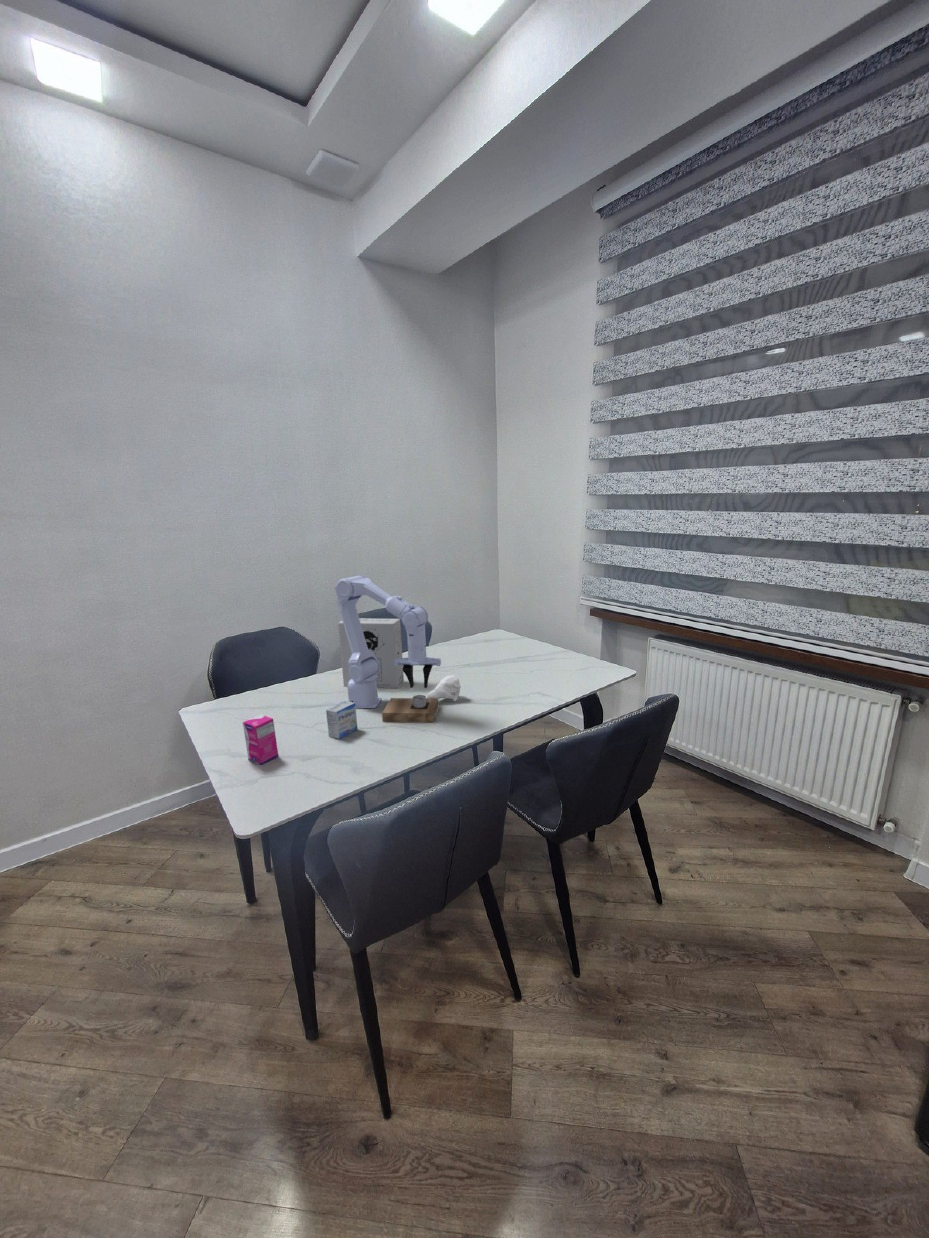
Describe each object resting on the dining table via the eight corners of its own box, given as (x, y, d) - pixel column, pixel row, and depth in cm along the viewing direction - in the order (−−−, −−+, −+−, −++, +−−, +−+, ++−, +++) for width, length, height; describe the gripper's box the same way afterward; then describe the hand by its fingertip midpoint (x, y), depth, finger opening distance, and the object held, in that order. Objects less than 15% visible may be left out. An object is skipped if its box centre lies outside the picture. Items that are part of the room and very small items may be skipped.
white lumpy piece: (461, 676, 168) (429, 686, 162) (464, 699, 170) (433, 710, 165) (452, 671, 173) (421, 681, 168) (455, 693, 175) (425, 703, 170)
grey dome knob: (411, 716, 158) (410, 699, 157) (416, 711, 162) (415, 694, 161) (424, 717, 157) (423, 700, 155) (428, 712, 161) (427, 695, 159)
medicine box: (338, 739, 144) (336, 712, 142) (328, 736, 146) (325, 709, 144) (358, 729, 150) (355, 702, 148) (347, 726, 153) (345, 700, 151)
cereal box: (404, 681, 190) (400, 618, 184) (398, 688, 183) (394, 623, 177) (351, 679, 194) (345, 617, 188) (343, 686, 187) (337, 622, 181)
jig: (382, 721, 155) (382, 712, 154) (391, 706, 167) (391, 698, 166) (432, 722, 153) (432, 713, 153) (438, 706, 165) (438, 698, 164)
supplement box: (247, 760, 134) (241, 721, 131) (266, 751, 139) (261, 713, 136) (260, 765, 131) (254, 726, 128) (279, 756, 135) (274, 717, 133)
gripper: (391, 649, 151) (393, 691, 154) (437, 649, 150) (439, 691, 153) (396, 643, 158) (398, 683, 161) (441, 643, 157) (442, 683, 160)
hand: (419, 686), depth 158 cm, fingers open, 4 cm apart
